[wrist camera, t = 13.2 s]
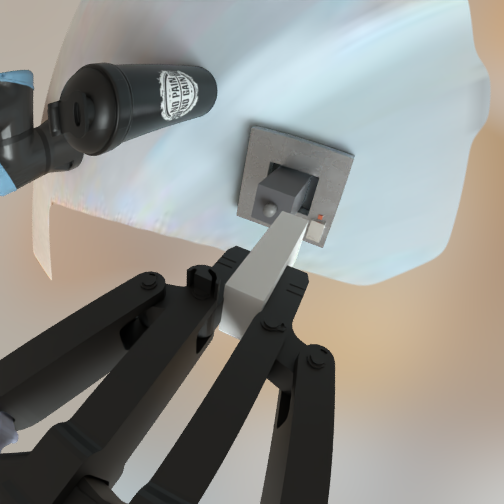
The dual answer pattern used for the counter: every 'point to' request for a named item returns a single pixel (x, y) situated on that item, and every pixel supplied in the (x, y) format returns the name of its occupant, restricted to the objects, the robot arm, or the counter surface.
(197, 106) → the water bottle
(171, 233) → the counter surface
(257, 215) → the plug
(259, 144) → the socket
